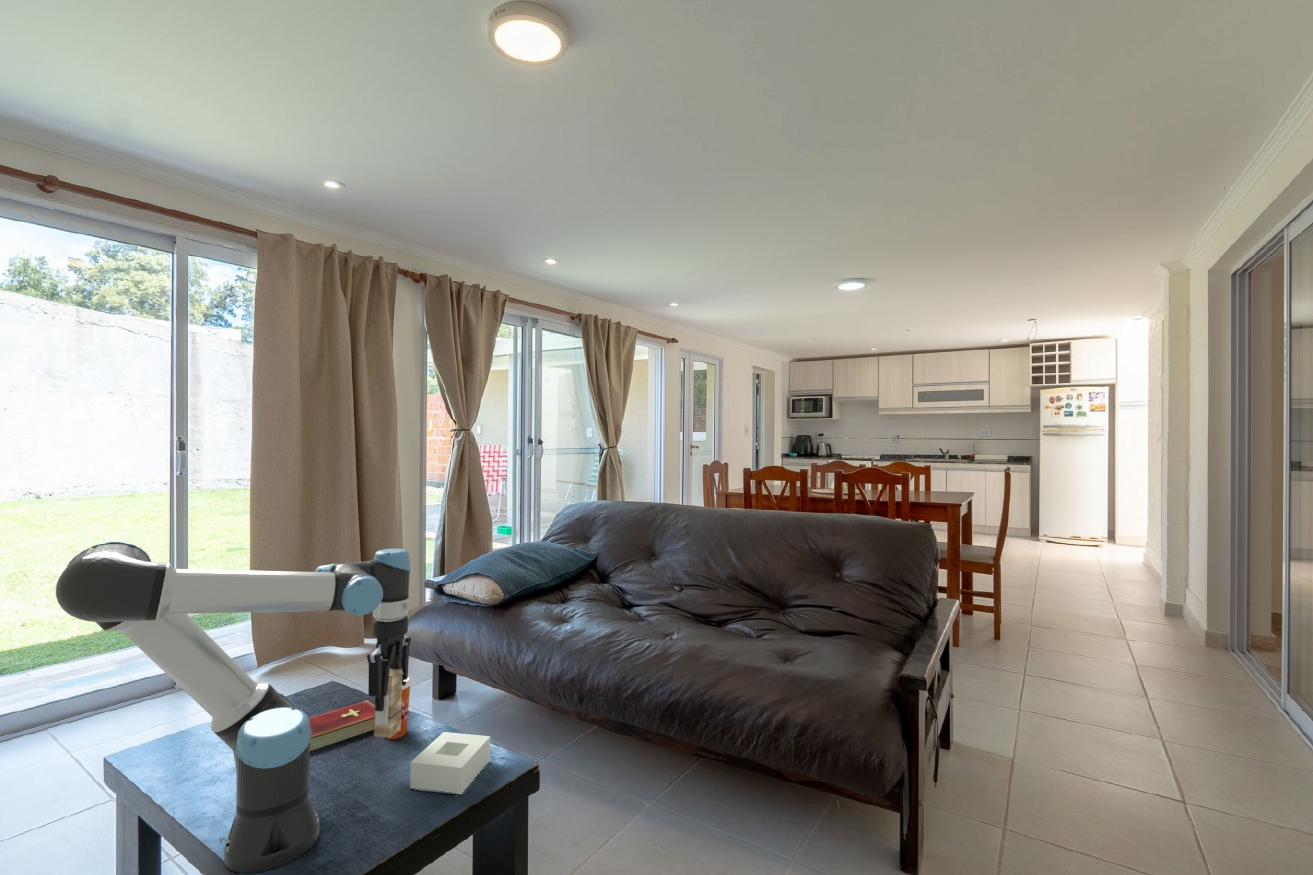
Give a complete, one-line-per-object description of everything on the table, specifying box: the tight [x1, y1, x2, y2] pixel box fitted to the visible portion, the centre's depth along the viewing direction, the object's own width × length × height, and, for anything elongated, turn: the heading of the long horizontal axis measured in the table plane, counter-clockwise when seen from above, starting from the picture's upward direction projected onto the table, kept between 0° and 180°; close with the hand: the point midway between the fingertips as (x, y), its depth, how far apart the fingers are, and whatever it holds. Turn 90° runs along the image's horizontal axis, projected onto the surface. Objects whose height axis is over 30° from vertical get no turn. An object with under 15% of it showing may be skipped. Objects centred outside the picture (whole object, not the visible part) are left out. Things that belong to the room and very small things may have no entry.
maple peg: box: [373, 668, 402, 738], centre depth 139 cm, size 4×4×14 cm
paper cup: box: [383, 676, 412, 740], centre depth 156 cm, size 8×8×14 cm
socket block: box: [409, 731, 491, 794], centre depth 137 cm, size 14×12×6 cm
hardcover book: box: [308, 699, 375, 752], centre depth 157 cm, size 12×21×4 cm, turn 137°
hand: (387, 718), depth 139 cm, fingers closed on maple peg, 4 cm apart
